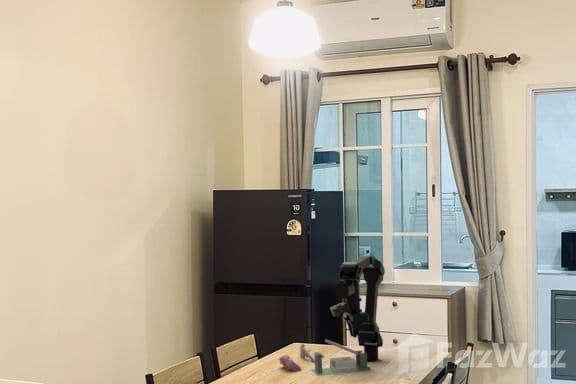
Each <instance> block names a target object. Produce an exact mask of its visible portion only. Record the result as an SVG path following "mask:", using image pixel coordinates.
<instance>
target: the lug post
mask: <svg viewBox="0 0 576 384" xmlns="http://www.w3.org/2000/svg"><path fill="white" fill-rule="evenodd" d="M314 357H315V363H314V369H315V371H316V372H317V373H322V369H323V359H324V357H325V355H324V354H322V353H321V352H319V351H318V352H317V351H316V352H314Z"/></svg>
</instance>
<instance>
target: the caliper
mask: <svg viewBox="0 0 576 384" xmlns="http://www.w3.org/2000/svg"><path fill="white" fill-rule="evenodd" d="M305 346H306V345H305V344H304V343H301V344H300V346H299V347H300V348H299V349H300V350H299V351H300V353H299V354H300V355H299V356H300V358H301V357H302V358H303V359H306V358H308V359H310V361H312V362H313V364H315V355H312V354H311V353H310V350H308V349H307V347H305ZM302 358H301V359H302Z"/></svg>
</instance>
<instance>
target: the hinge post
mask: <svg viewBox="0 0 576 384" xmlns="http://www.w3.org/2000/svg"><path fill="white" fill-rule="evenodd" d="M356 351H357V352H361V353H360V356H358V355H356V354H355V360H356V368H357V369H358V370H360V371H361V370H370V368H371V367H370V366H368V362H367V353H364V352H363V350H356Z"/></svg>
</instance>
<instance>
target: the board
mask: <svg viewBox="0 0 576 384" xmlns="http://www.w3.org/2000/svg"><path fill="white" fill-rule="evenodd" d="M310 371H311V372H312V373H314V374H315V375H316V376H317V377H318V376H329V375H340V374H341V375H342V374H350V373H359V372H373V371H374V369H372V368H371V367H370V370H361V371H360V370H358V369H357V371H354V372H343V373H335V372H334V371H333V370H331V369H330V367H326V368H325V367H322V373H317V372H316V371H315V368H314V369H310Z"/></svg>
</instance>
